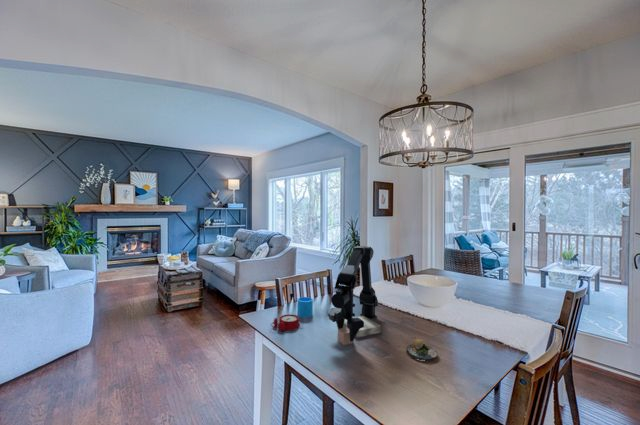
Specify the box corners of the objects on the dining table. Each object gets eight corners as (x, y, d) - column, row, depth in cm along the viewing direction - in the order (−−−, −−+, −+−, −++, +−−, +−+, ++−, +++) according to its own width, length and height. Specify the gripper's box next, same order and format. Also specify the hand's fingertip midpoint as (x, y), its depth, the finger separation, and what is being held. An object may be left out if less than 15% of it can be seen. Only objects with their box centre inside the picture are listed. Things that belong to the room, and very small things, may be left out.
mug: (314, 316, 154) (315, 300, 154) (300, 318, 151) (300, 302, 151) (307, 308, 165) (307, 294, 165) (293, 310, 162) (293, 295, 162)
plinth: (363, 321, 148) (363, 315, 148) (380, 332, 136) (380, 326, 136) (339, 326, 142) (339, 320, 142) (355, 337, 129) (355, 331, 129)
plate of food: (434, 366, 108) (434, 346, 108) (402, 356, 114) (403, 338, 114) (440, 352, 118) (440, 334, 118) (410, 345, 124) (411, 327, 124)
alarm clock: (306, 319, 140) (279, 318, 132) (303, 332, 140) (276, 333, 131) (294, 312, 149) (269, 311, 140) (292, 325, 148) (266, 325, 139)
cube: (347, 338, 129) (347, 327, 129) (353, 343, 125) (353, 331, 125) (337, 340, 127) (337, 329, 127) (343, 345, 122) (343, 333, 122)
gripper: (320, 297, 130) (319, 331, 130) (341, 310, 113) (340, 350, 114) (341, 294, 135) (340, 327, 135) (365, 306, 119) (364, 344, 119)
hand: (345, 336), depth 126 cm, fingers open, 9 cm apart
